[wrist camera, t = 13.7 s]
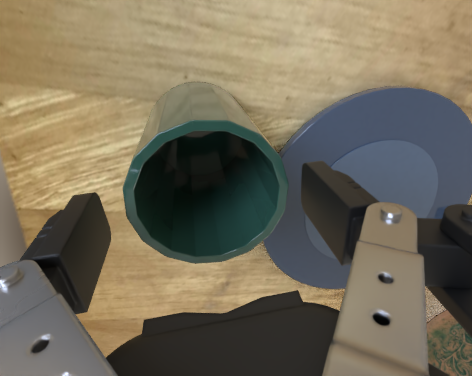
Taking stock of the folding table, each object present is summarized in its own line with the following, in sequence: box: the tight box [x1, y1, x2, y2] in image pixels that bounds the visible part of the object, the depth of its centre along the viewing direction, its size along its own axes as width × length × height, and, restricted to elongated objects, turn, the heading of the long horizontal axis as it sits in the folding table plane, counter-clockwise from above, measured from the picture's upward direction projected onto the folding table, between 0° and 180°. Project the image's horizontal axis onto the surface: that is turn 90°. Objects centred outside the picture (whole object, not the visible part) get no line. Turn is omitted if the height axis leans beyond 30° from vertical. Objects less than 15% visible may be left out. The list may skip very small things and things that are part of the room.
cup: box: [123, 82, 289, 264], centre depth 15 cm, size 6×6×9 cm
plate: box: [263, 86, 472, 289], centre depth 24 cm, size 18×18×1 cm
